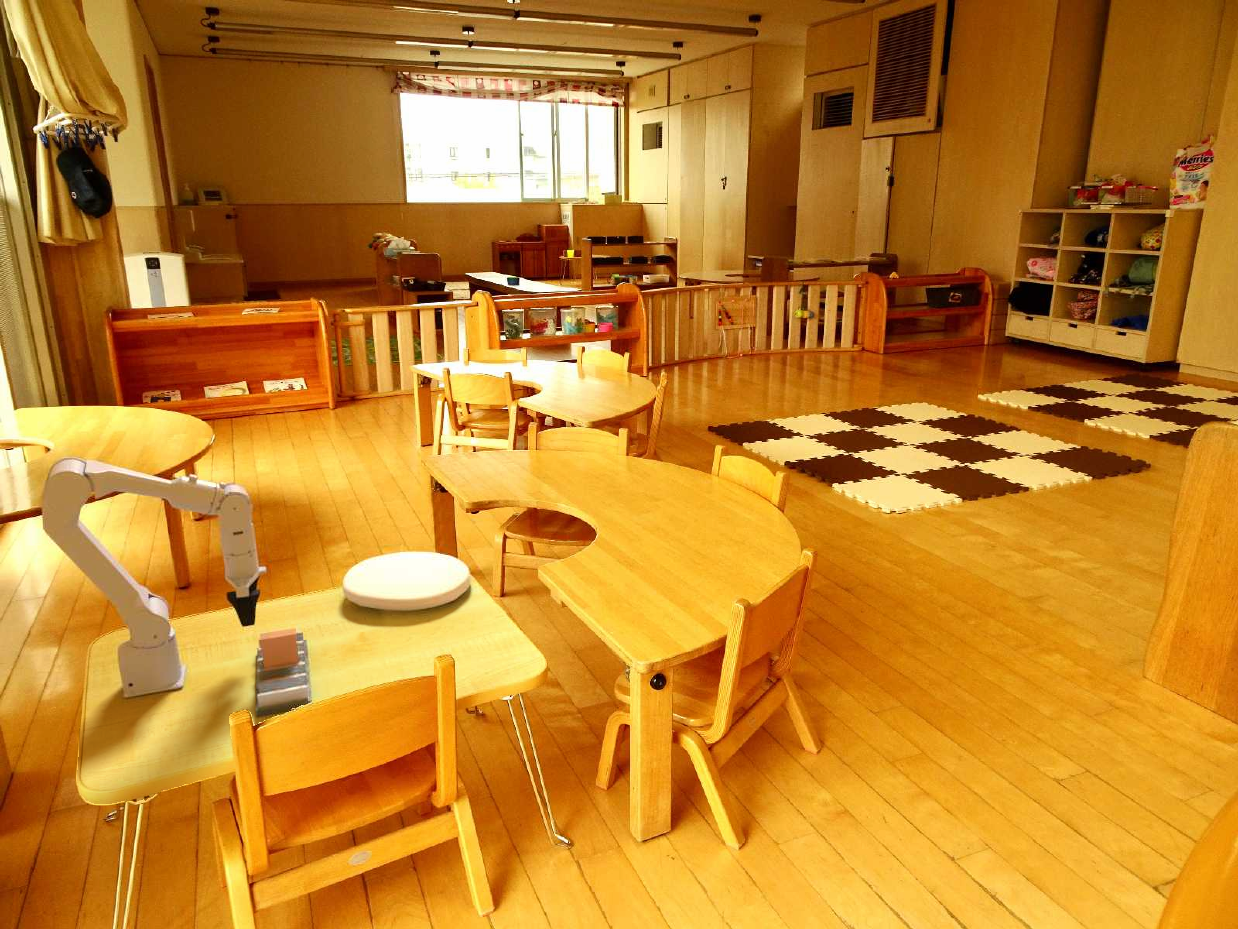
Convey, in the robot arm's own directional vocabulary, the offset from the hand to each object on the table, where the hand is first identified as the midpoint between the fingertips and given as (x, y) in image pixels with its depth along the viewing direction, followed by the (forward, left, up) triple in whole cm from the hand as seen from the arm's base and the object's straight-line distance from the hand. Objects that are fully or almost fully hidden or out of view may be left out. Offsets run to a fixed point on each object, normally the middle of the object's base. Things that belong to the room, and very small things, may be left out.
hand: (248, 616), depth 160 cm
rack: (+5, -9, -9) cm, 14 cm away
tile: (+5, -9, -8) cm, 13 cm away
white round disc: (+32, +20, -10) cm, 39 cm away
